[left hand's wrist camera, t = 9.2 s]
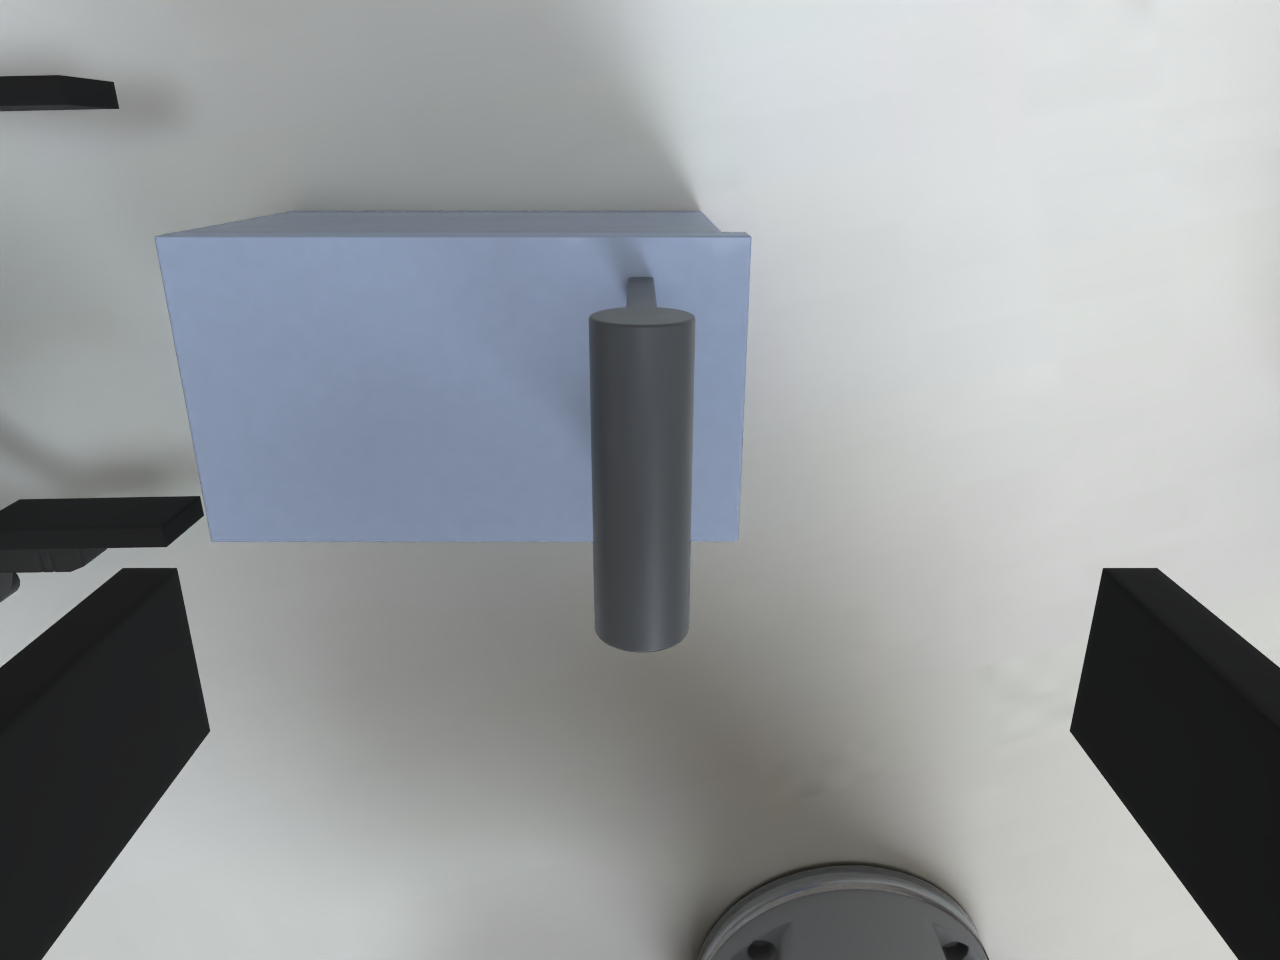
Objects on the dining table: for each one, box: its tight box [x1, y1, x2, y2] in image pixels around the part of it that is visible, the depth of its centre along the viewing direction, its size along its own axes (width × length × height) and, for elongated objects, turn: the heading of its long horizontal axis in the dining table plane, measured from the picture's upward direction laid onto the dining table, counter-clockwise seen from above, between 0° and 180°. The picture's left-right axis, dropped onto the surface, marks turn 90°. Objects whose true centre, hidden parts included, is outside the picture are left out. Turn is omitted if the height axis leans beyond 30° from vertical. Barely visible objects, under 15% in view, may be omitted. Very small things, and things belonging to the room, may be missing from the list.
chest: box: [182, 211, 721, 232], centre depth 31 cm, size 16×9×9 cm, turn 90°
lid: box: [155, 232, 751, 652], centre depth 22 cm, size 16×9×9 cm, turn 90°
